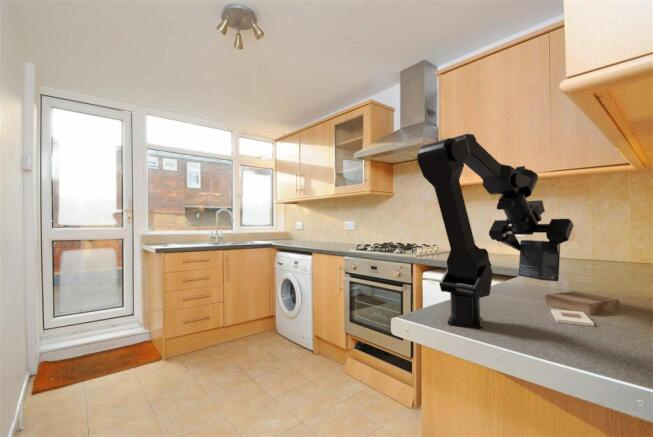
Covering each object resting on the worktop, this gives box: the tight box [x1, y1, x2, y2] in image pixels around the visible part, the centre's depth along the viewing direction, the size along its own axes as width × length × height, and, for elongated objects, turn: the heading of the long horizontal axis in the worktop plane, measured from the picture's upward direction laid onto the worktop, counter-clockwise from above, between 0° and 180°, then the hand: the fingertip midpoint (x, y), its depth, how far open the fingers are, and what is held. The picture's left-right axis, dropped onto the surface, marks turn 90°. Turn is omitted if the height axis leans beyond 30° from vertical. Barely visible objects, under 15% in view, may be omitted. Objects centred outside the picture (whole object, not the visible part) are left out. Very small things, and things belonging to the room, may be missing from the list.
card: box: [550, 308, 595, 327], centre depth 67 cm, size 9×6×1 cm, turn 150°
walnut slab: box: [545, 290, 620, 316], centre depth 75 cm, size 10×10×2 cm
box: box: [518, 239, 561, 283], centre depth 85 cm, size 8×6×11 cm
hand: (538, 250), depth 85 cm, fingers closed on box, 9 cm apart
